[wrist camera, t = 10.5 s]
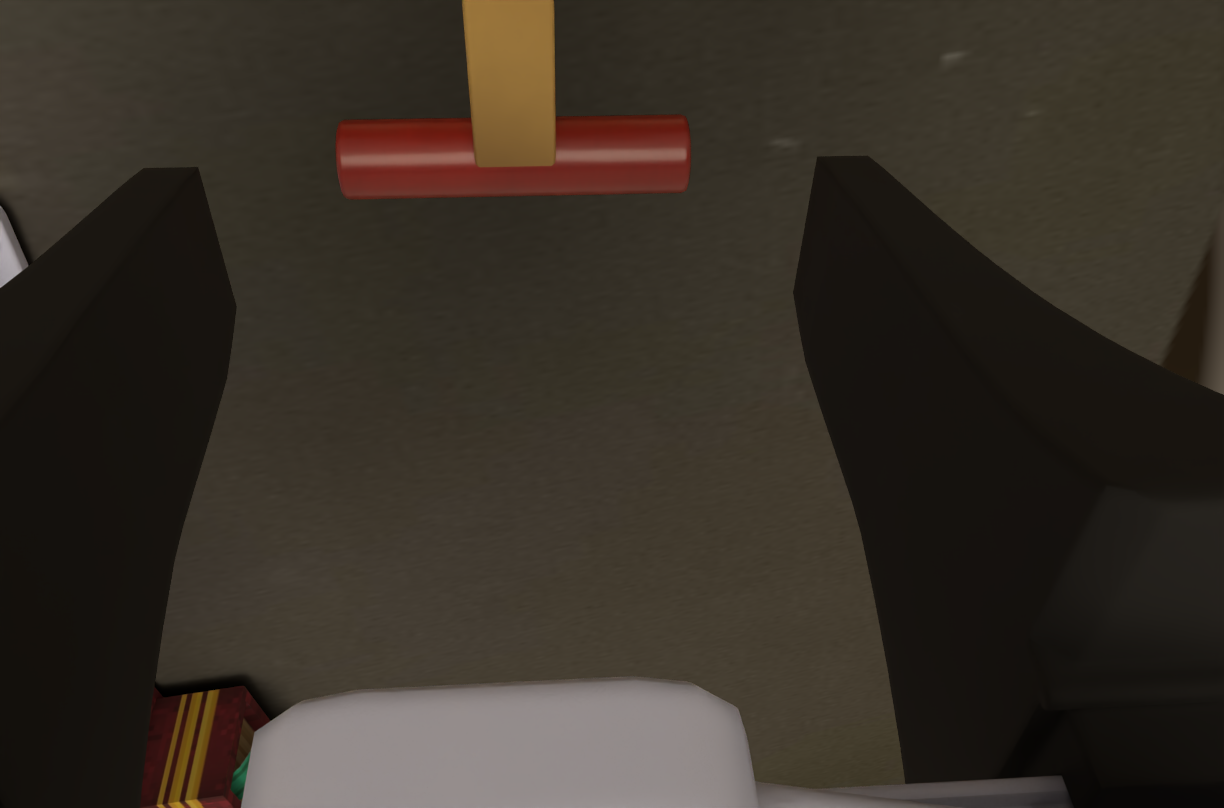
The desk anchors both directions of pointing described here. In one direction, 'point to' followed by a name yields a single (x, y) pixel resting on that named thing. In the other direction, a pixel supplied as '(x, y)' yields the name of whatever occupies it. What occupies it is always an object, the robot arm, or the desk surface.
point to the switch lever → (512, 129)
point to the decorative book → (199, 749)
